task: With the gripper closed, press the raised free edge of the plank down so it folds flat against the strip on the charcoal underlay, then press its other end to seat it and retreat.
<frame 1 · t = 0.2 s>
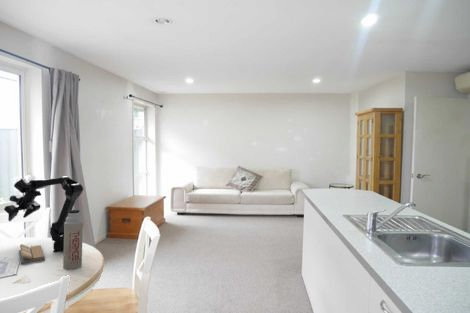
hand: (16, 219, 171), 15 cm above the table, tool tilted 30°, fingers open, 9 cm apart
plank: (25, 251, 153), point 3 cm above the table, hinge at 30.0°
floor panel: (31, 256, 154), on the table
thermos bottle: (72, 267, 143), on the table
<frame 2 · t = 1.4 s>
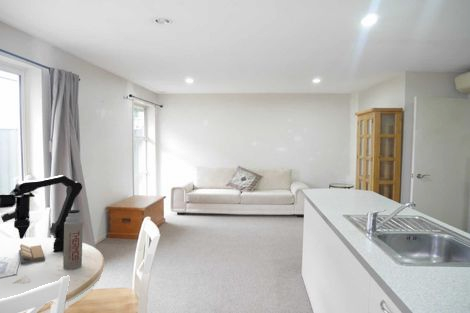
hand: (21, 236, 149), 12 cm above the table, tool pointing down, fingers open, 9 cm apart
nothing on the table moved.
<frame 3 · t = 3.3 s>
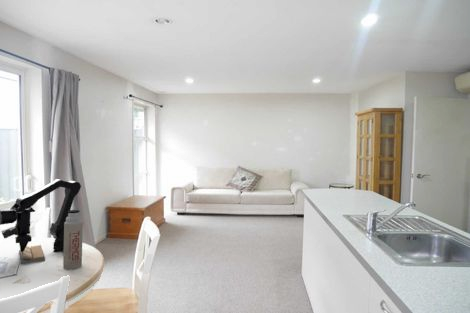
hand: (22, 251, 149), 4 cm above the table, tool pointing down, fingers closed, pressing on plank
plank: (25, 251, 153), point 3 cm above the table, hinge at 27.0°, touching gripper
everything else where it was.
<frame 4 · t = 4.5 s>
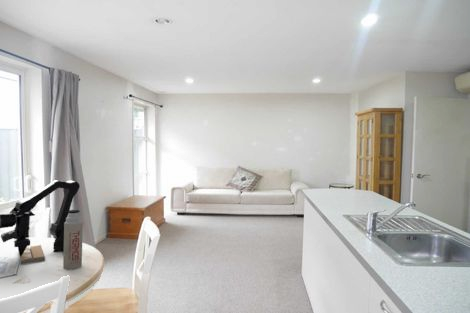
hand: (20, 255, 149), 2 cm above the table, tool pointing down, fingers closed, pressing on plank
plank: (25, 253, 152), point 2 cm above the table, hinge at 1.8°, touching gripper
everything else where it was.
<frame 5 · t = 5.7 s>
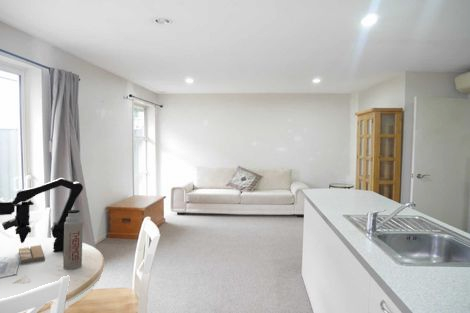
hand: (22, 242, 155), 7 cm above the table, tool pointing down, fingers closed
plank: (25, 253, 152), point 2 cm above the table, hinge at 1.5°
everything else where it was.
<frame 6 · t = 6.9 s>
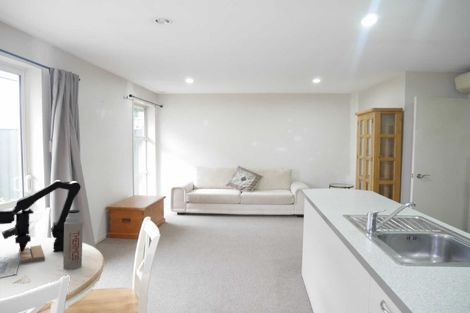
hand: (22, 251, 155), 2 cm above the table, tool pointing down, fingers closed, pressing on plank
plank: (25, 253, 152), point 2 cm above the table, hinge at 0.7°, touching gripper
everything else where it was.
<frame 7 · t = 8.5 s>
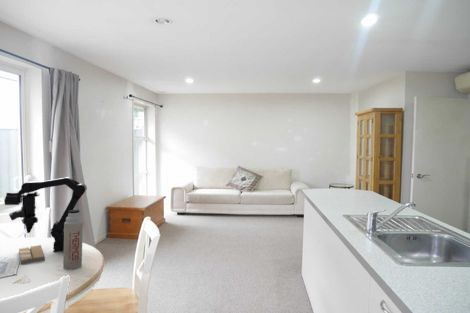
hand: (28, 232, 159), 11 cm above the table, tool pointing down, fingers closed
plank: (25, 254, 152), point 2 cm above the table, hinge at -0.8°, touching floor panel
everything else where it was.
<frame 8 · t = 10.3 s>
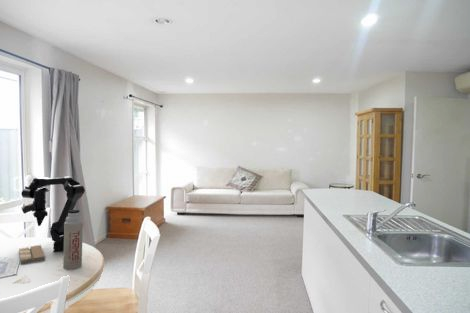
hand: (39, 225, 169), 12 cm above the table, tool pointing down, fingers closed
nothing on the table moved.
at the end: plank at -1° (first picture: +30°) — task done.
